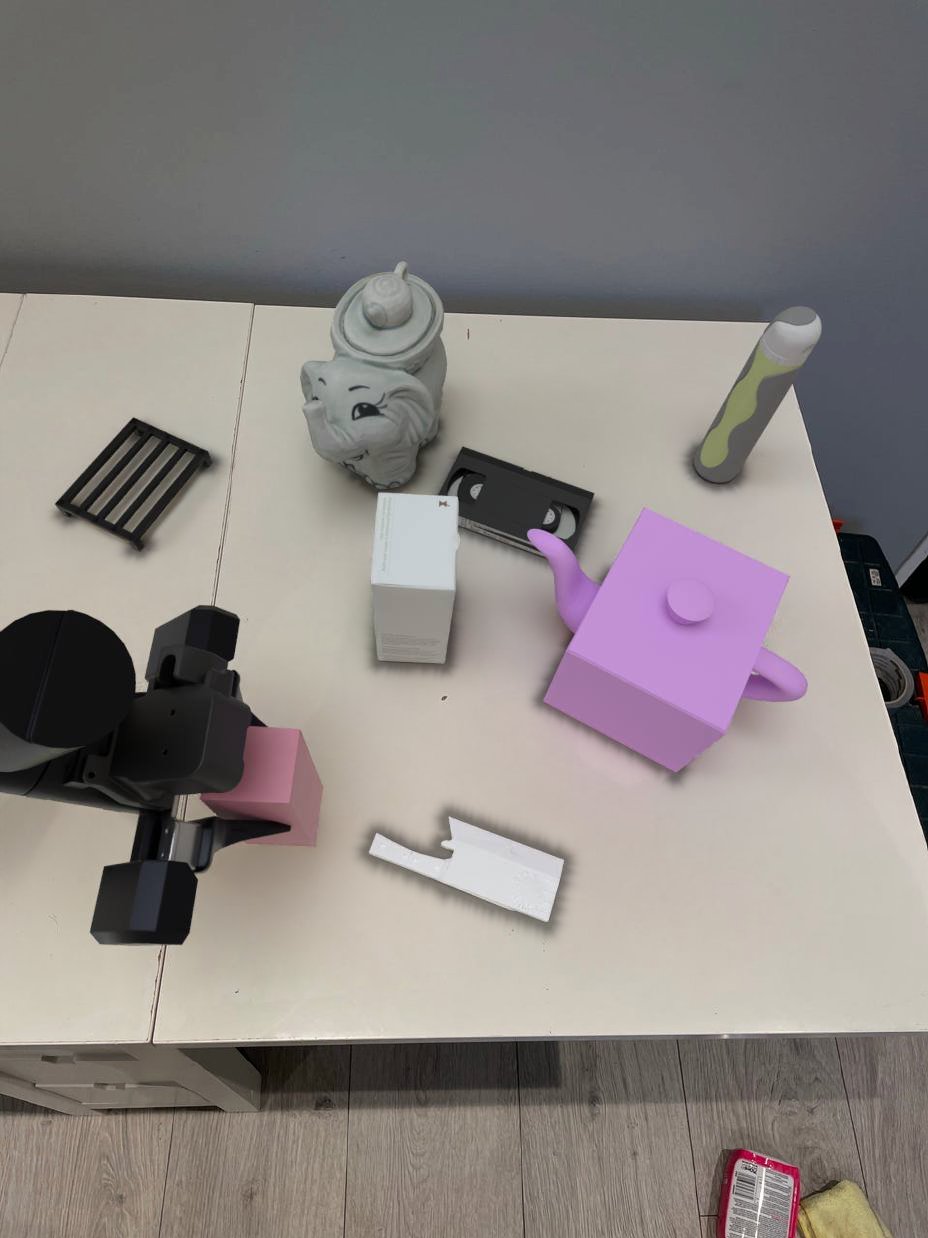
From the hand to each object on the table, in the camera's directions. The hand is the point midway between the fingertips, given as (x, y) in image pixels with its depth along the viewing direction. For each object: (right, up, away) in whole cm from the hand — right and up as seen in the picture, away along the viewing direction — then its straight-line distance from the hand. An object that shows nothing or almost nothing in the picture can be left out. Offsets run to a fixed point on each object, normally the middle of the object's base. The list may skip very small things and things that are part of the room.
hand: (291, 792), depth 48 cm
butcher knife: (+11, -8, +12) cm, 18 cm away
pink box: (-2, -3, +6) cm, 7 cm away
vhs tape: (+16, +22, +27) cm, 38 cm away
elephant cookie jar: (+2, +28, +29) cm, 40 cm away
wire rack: (-21, +24, +25) cm, 41 cm away
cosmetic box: (+7, +11, +21) cm, 24 cm away
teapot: (+27, +7, +20) cm, 34 cm away
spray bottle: (+38, +27, +31) cm, 56 cm away
